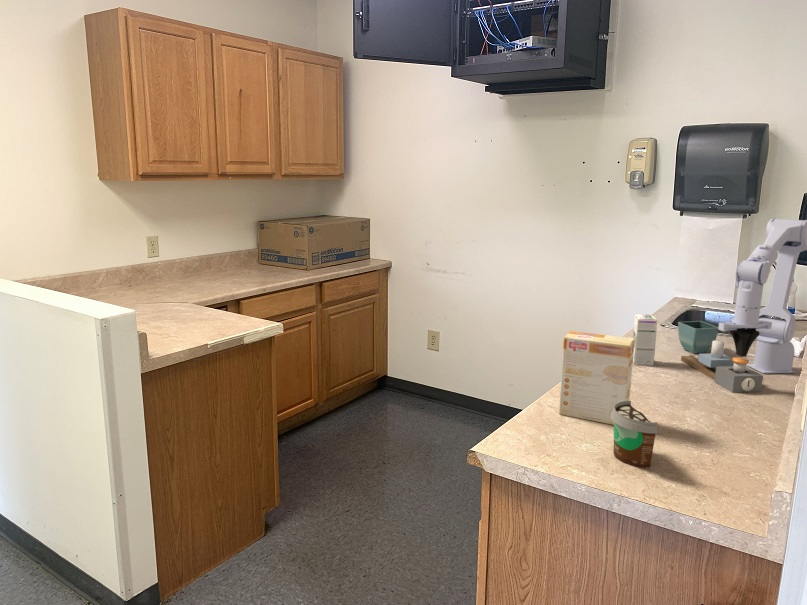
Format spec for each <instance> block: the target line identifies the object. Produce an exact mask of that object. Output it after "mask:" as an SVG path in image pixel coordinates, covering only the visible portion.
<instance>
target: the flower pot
mask: <svg viewBox="0 0 807 605" xmlns="http://www.w3.org/2000/svg"><path fill="white" fill-rule="evenodd" d="M677 325H678V326H677V327H678V330H677V331H678V339H679V343H680V345H681V347H682V348H683V350H685V351H686V352H687V351H688V352H689V353H693V354H707V353H709V351H710V350H711V349H712V341H715V340H717V337H718V333H719V330H718V327H719V326H715V325H714V324H710V323H708V322H705V321H702V320H695V321H694V320H693V321H678V322H677Z"/></svg>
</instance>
